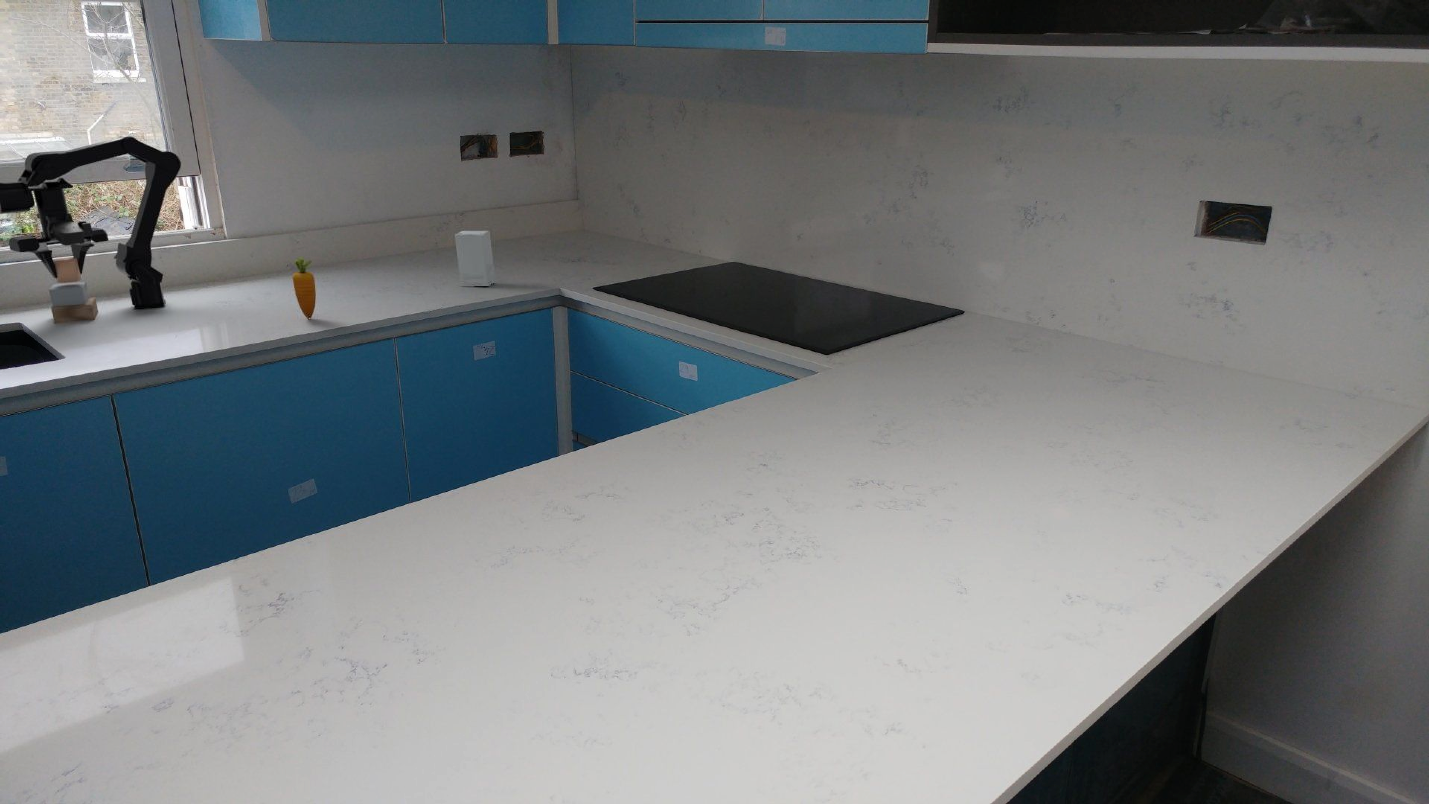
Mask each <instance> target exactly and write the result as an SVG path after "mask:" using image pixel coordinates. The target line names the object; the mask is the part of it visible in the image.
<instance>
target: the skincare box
mask: <svg viewBox="0 0 1429 804" xmlns="http://www.w3.org/2000/svg"><path fill="white" fill-rule="evenodd" d="M454 241H455V247H456V254H457V255H456V256H457V263H458V264H457V265H458V271H459V273H458V274H459V278H460V279H459V280H460V286H461V287H474V286H489V287H491V286H492V285H493V284H492V283H494V282H495V283H496V274H495V267H494V257H493V248H492V241H491V233H490V230H462V231H459V232H457V233H455V234H454ZM495 283H494V284H495ZM491 284H492V285H491Z"/></svg>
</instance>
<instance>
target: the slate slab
mask: <svg viewBox="0 0 1429 804" xmlns="http://www.w3.org/2000/svg"><path fill="white" fill-rule="evenodd" d="M48 291H49V296H50V300H51V304H52V306H53V307H56V306H69V305H81V304H86V303H87V301H88V300H89V298H90V295H89V294H90V293H89V290H88V285H87V281H84V282H83V281H81V282H80V281H77V282H69V283H54V284H53V285H51V287H50V288H49V289H48Z"/></svg>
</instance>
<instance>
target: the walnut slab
mask: <svg viewBox="0 0 1429 804" xmlns="http://www.w3.org/2000/svg"><path fill="white" fill-rule="evenodd" d="M50 309H51V314H52V317H53V318H52V319H53V323H54V324H63V323H64V324H65V323H72V322H73V323H74V322H86V321H95V320H96V318H97V316H98V314H99V309H98V305H97V299H96V297H89V300H88V301H87V303H86V304H81V305H69V306H56V307H53V305H52V306H51V307H50Z"/></svg>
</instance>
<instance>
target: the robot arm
mask: <svg viewBox="0 0 1429 804" xmlns="http://www.w3.org/2000/svg"><path fill="white" fill-rule="evenodd" d="M125 155H130V156H131V157H133V158H134V159H137V160H139V161H140V162H143V163H144V164H145V166H144V174H145V187H144V189H143V194H142V197H141V200H140V204H139V206H138V210H137V215H136V216H135V217H136V218H135V221H134V224H133V227H132V231H131V235H130V238H129V239H128V240H127V241H126V243H125V244H124V243H121V242H118V245H117V251H116V254H115V255H114V257H113V259H114V260H116V261H115V266H116V268H117V269H118V271H119V272H121V273H122V274H124V275H126V276H127V278H128V279H129V280H130V281H131V282H130V286H131V287H129V295H130V300H131V304H132V306H134V307H133V308H134V309H135V310H137V309H138V310H139V309H150V308H161V307H163V308H164V307H165V306H166V302H167V301H166V299H165V296H164V291H163V286H162V282H163V277H164V274H163V273H162V272H160V271H159V270H157V269H156V268H155V267H152V263H153V262H152V261H153V256H152V255H153V254H152V241H153V237H154V234H155V231H156V227H157V224H158V221H159V217H160V213H161V211H162V207H163V204H164V200H165V196H166V193H167V190H168V188H169V187H170V186H171V185H172V184H173V183H174V182H175V180H176V178H177V176H178V174H179V172H180V171H181V167H182V161H181V160H180V158H179V156H178V155H177V154H176V153H174V152H172V151H168V150H163V149H158V148H156V147H153V146H152V145H149V144H146V143H144V142H142V141H140V140H138V139H137V138H136V137H134V136H130V135H119V136H118V137H115V138H111V139H107V140H104V141H100V142H96V143H92V144H89V145H84V146H80V147H76V148H73V149H68V150H67V149H66V150H51V151H42V152H41V151H40V152H39V151H38V152H33V153H30V154H29V155H27V156H26V158H25V160H24V170H23V171H22V173H21V175H20V176H19V178H18V180H17V181H12V182H11V181H10V182H9V181H8V182H1V181H0V215H4V214H15V213H16V214H17V213H28V212H30V211H31V209H32V208H33V209H34V207H35V205H36V209H37V213H36V218H37V219H39V222H40V225H41V230H42V231H40V236H41V237H34V236H30V235H24V236H23V235H22V236H15V237H10V238H9V240H8V246H9V250H10V251H14V252H17V253H31V254H32V253H33V254H34V255H35V256H36V257H37V258H38V259H39V260H40V262H42V264H43V265H44V267H45V268H46V269H47V270H48V272H49V273H50V275H51V276H52V277H53V278H54V279H56V278H57V271H56V268H55V265H54V262H53V256H52V255H53V250H52V249H50V248H48V246H50V245H51V246H52V245H59V244H61V245H62V246H64V247H66V246H70V248H71V252H72V256H73V258H77V261H78V265H79V270H80V274H81V275H82V274H83V270H84V266H85V265H84V264H85V260H86V256H87V254H88V253H87V252H88V251H89V250H90V249H91V248H93V247H95V243H96V244H97V243H104V242H108V241H109V236H108V233H107V231H106V230H105V229H103V228H99V227H92V223H91V222H90V221H88V220H82V221H81V220H79V221H77V222H75V221H74V218H73V216H72V214H71V213H69V209H68V205H67V201H66V196H65V192H64V190H65V189H73V188H74V185H73V184H71V183H69V182H68V181H67V180H66V179H65V178H63V177H62V176H64V175H67V174H68V173H70V172H72V171H73V170H76V169H78V168H80V167H83V166H87V165H90V164H94V163H98V162H101V161H105V160H109V159H113V158H117V157H121V156H125ZM57 178H58V179H57ZM54 180H55V181H54ZM40 185H41V186H40ZM92 242H93V243H92Z"/></svg>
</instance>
